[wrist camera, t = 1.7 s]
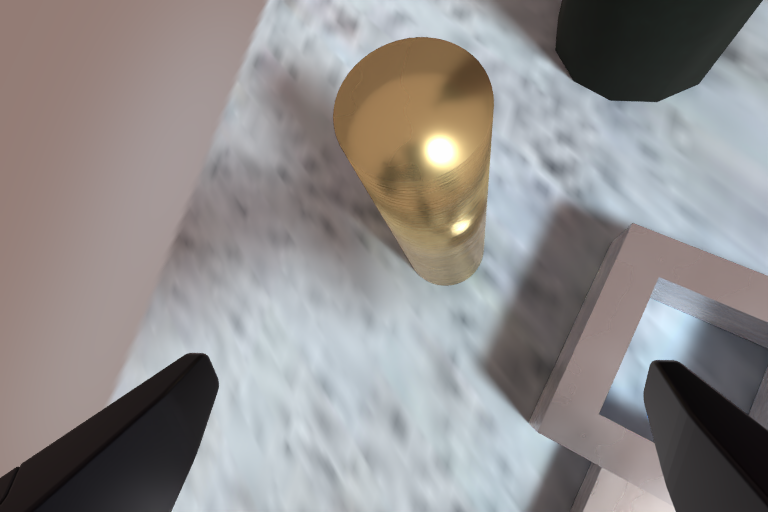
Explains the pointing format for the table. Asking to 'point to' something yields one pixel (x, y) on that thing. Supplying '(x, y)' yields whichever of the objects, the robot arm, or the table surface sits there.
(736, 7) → the wine bottle
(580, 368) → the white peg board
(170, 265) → the table surface
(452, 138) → the gold metal cylinder
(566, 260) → the table surface
